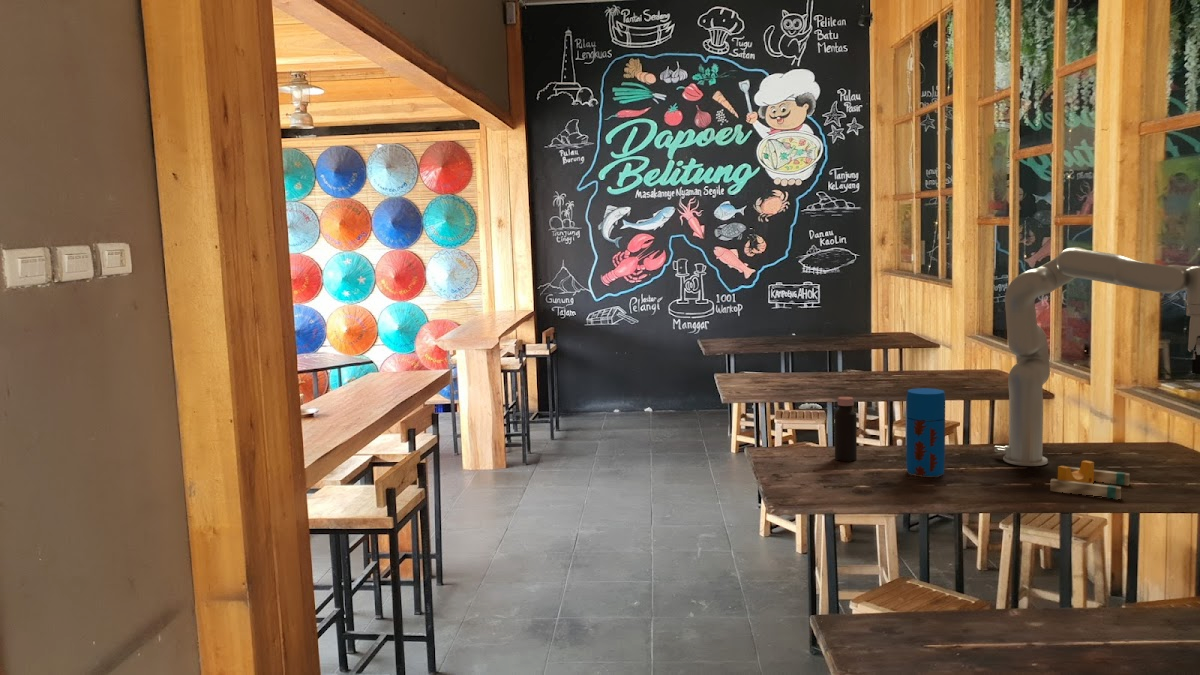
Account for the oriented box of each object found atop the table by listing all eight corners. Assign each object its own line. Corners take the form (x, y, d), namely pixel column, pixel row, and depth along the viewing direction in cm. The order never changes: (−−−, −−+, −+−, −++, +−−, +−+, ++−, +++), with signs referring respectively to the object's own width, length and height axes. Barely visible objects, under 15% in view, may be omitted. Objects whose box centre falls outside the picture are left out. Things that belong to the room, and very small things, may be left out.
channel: (1050, 491, 261) (1050, 480, 260) (1063, 476, 275) (1063, 465, 275) (1119, 499, 251) (1120, 488, 250) (1129, 483, 265) (1129, 473, 265)
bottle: (839, 455, 308) (839, 395, 306) (859, 458, 304) (859, 397, 302) (831, 460, 303) (831, 398, 300) (852, 462, 299) (851, 400, 296)
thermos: (917, 466, 291) (917, 387, 288) (950, 472, 283) (951, 390, 281) (900, 474, 283) (900, 392, 281) (934, 479, 276) (934, 395, 273)
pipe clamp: (1079, 481, 270) (1080, 459, 269) (1093, 484, 266) (1094, 462, 266) (1051, 487, 265) (1052, 465, 264) (1065, 491, 261) (1066, 468, 260)
